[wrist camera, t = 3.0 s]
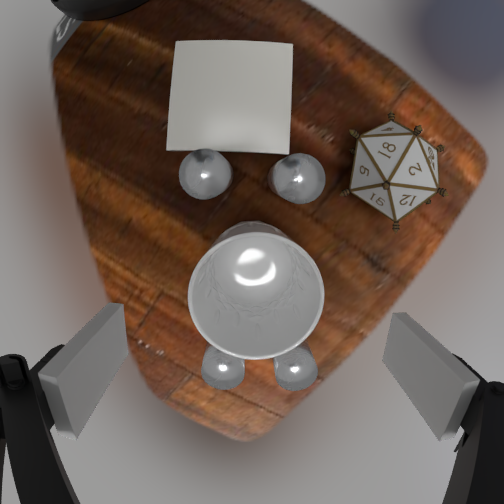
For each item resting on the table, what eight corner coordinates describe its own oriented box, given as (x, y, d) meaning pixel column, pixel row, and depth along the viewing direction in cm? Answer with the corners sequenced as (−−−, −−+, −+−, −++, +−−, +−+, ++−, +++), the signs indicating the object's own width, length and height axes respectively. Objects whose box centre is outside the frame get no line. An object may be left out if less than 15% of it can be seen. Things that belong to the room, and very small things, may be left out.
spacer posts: (196, 155, 26) (180, 148, 19) (317, 162, 26) (341, 157, 20) (194, 344, 30) (182, 386, 23) (300, 347, 30) (314, 390, 23)
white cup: (211, 304, 29) (196, 362, 19) (202, 216, 27) (180, 237, 18) (298, 298, 29) (323, 353, 19) (295, 210, 27) (323, 228, 18)
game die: (354, 151, 30) (386, 71, 21) (426, 199, 28) (478, 130, 19) (309, 210, 27) (339, 122, 18) (393, 268, 25) (459, 202, 16)
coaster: (177, 44, 24) (175, 41, 23) (291, 47, 24) (292, 44, 23) (168, 150, 26) (166, 150, 25) (287, 154, 26) (288, 154, 25)
